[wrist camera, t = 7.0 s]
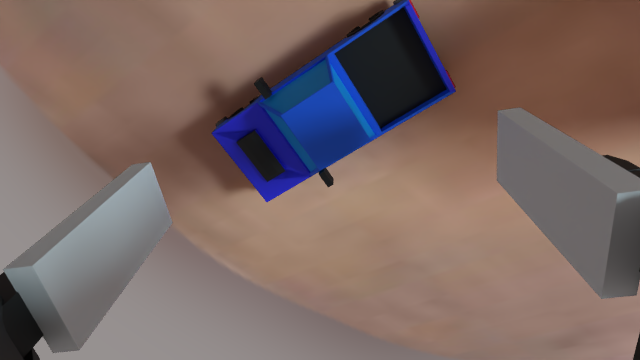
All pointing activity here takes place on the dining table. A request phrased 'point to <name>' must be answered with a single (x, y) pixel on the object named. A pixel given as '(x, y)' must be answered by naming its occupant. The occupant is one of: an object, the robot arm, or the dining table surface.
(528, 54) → the dining table surface
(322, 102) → the toy car
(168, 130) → the dining table surface
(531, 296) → the dining table surface
